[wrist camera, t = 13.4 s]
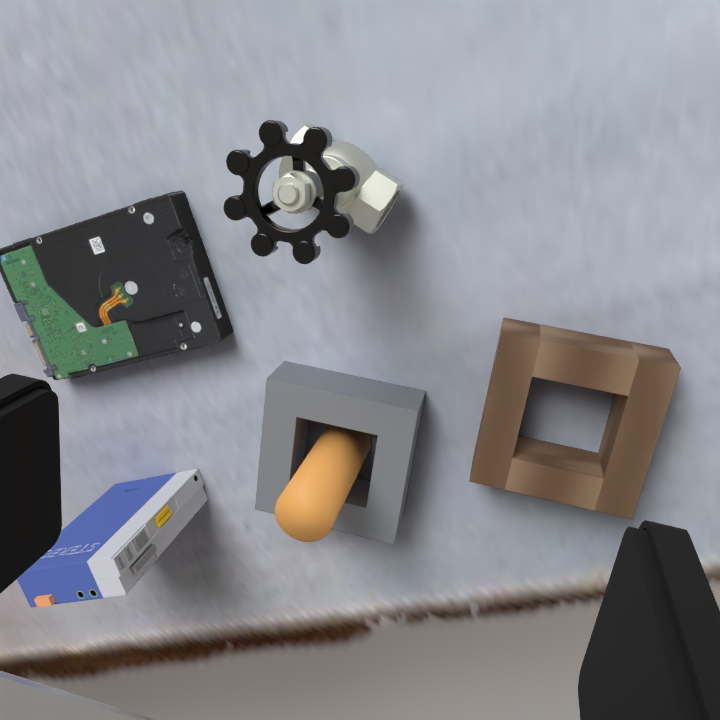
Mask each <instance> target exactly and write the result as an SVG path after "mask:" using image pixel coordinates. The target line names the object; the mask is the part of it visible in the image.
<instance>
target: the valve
mask: <svg viewBox="0 0 720 720" xmlns="http://www.w3.org/2000/svg"><path fill="white" fill-rule="evenodd" d="M287 131H288V128H287V126H286V125H285V124H284V123H283V122H281V121H275V120H268V121H266V122H264V123H263V124H262V125H261V127H260V129H259V137H260V139H261V141H262V142H263V144H264V149H263V151H262V152H261V153H260V154H258V155H257V156H256V157H252V156H251V155H250V151H249V150H245V149H242V150H234V151H232V152H230V153H229V155H228V156H227V160H226V163H227V167H228V169H229V171H230V172H231V173H233V174H235V175H239V176H241V177H242V179H243V181H244V186H243V193H242V194H241V195H240V196H239V195H236V196H232V197H229V198H228V199H227V200H226V201H225V203H224V212H225V214H226V216H227V217H228V218H230V219H231V220H241V219H244V218H246V217H249V218H251V219H252V220H253V222H254V223H255V224H256V226H257V229H258V231H257V234H256V235H254V236H253V238H252V240H251V248H252V250H253V252H254V253H255V254H257V255H258V256H262V257H263V256H267V255H270V254H272V253H274V252H275V251H276V250H277V249H278V247H277V246H276V244H277V242H278V241H283V242H288V243H290V244H291V245H292V246H293V256H294V258H295V260H296V261H298V262H299V263H301V264H308V263H310V262H312V261H314V260H315V259H317V258H318V256H319V255H320V246H318V247H317V246H316V244H315V242H314V238H315V236H316V235H317V234H318V233H320V232H321V231H322V230H326V231H328V233H329V234H330V235H331V236H332V237H334V238H343V237H344V236H346V235H348V234H349V233H351V232H352V230H353V228H354V225H356V226H358V227H359V228H361V229H362V230H364V231H365V232H367V233H369V234H373V233H375V232H376V231H377V230H378V229H379V227H380V226H381V225H382V223H383V222H384V220H385V219H386V217H387V216H388V214H389V212H390V211H391V209H392V207H393V206H394V204H395V202H396V200H397V199H398V197H399V195H400V193H401V191H402V188H403V181H401V180H399V179H398V178H396V177H395V176H393V175H391V174H390V173H388V172H387V171H385V170H384V169H378V170H377V168H376V166H375V164H374V162H373V160H372V159H371V158H370V156H369V155H368V154H367V153H366V152H365V151H363V150H362V149H361V148H359V147H357V146H356V145H353V144H351V143H347V142H341V141H335V139H334V138H333V137H332V135H331V133H330V131H329V130H328V129H326V128H324V127H315V126H313V125H304V126H303V127H302V128H301V129H300V130H299V131H298V132H297V133H296V135H295V136H294V137H293V139H292V140H291V142H290V143H289V142H288V141H287V139H286V132H287ZM280 157H283V158H282V160H281V163H280V168H279V177H280V178H279V179H278V180H277V181H276V182H274V183H273V201H271V202H269V203H267V204H265V205H262V206H261V203H260V200H259V195H258V186H259V181H260V178H261V175H262V173H263V172H264V170H265V168H266V167H267V166H268V165H269V164H270V163H271V162H272V161H274V160H275V159H277V158H280ZM312 208H314V209H316V210H319V211H320V213H319V215H318V216H317V218H316V219H315V220H314V221H313V222H312V223H311V224H310V225H308V226H307V227H305V228H301V229H288V228H284V227H281V226H279V225H277V224H276V223H274V222H273V221H272V220H271V219H270V218H269V217H268V216H270V215H272V214H273V213H275V212H277V211H279V210H281V209H283V210H284V211H286V212H288V213H290V214H291V213H294V214H297V213H302V212H305V211H307V210H310V209H312Z"/></svg>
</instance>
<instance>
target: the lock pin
mask: <svg viewBox="0 0 720 720" xmlns="http://www.w3.org/2000/svg"><path fill="white" fill-rule="evenodd" d="M370 446H371V440H370V436H369V434H368V433H365V432H361V431H356V430H352V429H348V428H343V427H339V426H334V425H330V424H328V425H327V427H326V428H325V430H324V431H323V433H322V434H321V436H320V437H319V439H318V440H317V442H316V443H315V445H314V446H313V448H312V449H311V451H310V452H309V454H308V455H307V457H306V458H305V459H304V461H303V462H302V464H301V465H300V467H299V468H298V470H297V471H296V473H295V474H294V476H293V477H292V479H291V480H290V482H289V483H288V485H287V486H286V488H285V489H284V491H283V492H282V494H281V495H280V497H279V498H278V500H277V502H276V505H275V516H276V520H277V522H278V524H279V526H280V527H281V528H282V530H283V531H284V532H285V533H287V534H288V535H289V536H291V537H292V538H294V539H297V540H300V541H304V542H313V541H318V540H320V539H322V538H324V537H325V536H326V535H327V534H328V533H329V532H330V530H331V528H332V526H333V524H334V522H335V520H336V518H337V516H338V514H339V512H340V510H341V508H342V506H343V504H344V502H345V500H346V497H347V495H348V493H349V491H350V489H351V487H352V485H353V483H354V481H355V479H356V477H357V475H358V473H359V471H360V469H361V467H362V465H363V463H364V461H365V459H366V457H367V455H368V452H369V450H370Z"/></svg>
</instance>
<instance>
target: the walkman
mask: <svg viewBox="0 0 720 720" xmlns="http://www.w3.org/2000/svg"><path fill="white" fill-rule="evenodd" d="M203 485H204V482H203V479H202V477H201V474H200V472H199V469H194V470H188V471H183V472H178V473H173V474H168V475H163V476H157V477H152V478H147V479H142V480H136V481H131V482H126V483H120V484H115V485H114V486H113V487H112V488H110V489H109V490H108V491H107V492H106V493H105V494H103V495H102V496H101V497H100V498H99V499H98V500H97V501H95V502H94V503H93V504H92V505H91V506H90V507H88V508H87V509H86V510H85V511H84V512H83V513H82V514H80V515H79V516H78V517H77V518H76V519H75V520H73V521H72V522H71V523H70V524H69V525H68V526H67V527H65V528H64V529H63V530H62V531H61V532H60V536H59V538H58V540H57V542H56V543H55V545H54V546H53V547H52V548H51V549H50V550H49V551H48V552H46V553H45V554H44V555H43V556H42V557H41V558H40V559H39V560H37V561H36V562H35V563H34V564H33V565H32V566H31V567H30V568H28V569H27V570H26V571H25V572H24V573H23V574H22V575H21V576H19V577H18V578H17V580H18V582H19V584H20V586H21V588H22V590H23V592H24V594H25V596H26V598H27V600H28V602H29V604H30V607H43V606H51V605H53V604H61V603H69V602H77V601H85V600H93V599H101V598H106V597H114V596H122V595H127V594H128V592H129V591H130V590H131V589H132V588H133V587H134V585H135V584H136V583H137V582H138V581H139V580H140V578H141V577H142V576H143V575H144V574H145V573H146V571H147V570H148V569H149V568H150V567H151V566H152V564H153V563H154V562H155V561H156V560H157V559H158V557H159V556H160V555H161V554H162V553H163V552H164V550H165V549H166V548H167V547H168V546H169V545H170V543H171V542H172V541H173V540H174V539H175V538H176V536H177V535H178V534H179V533H180V532H181V531H182V529H183V528H184V527H185V526H186V525H187V524H188V522H189V521H190V520H191V519H192V518H193V517H194V515H195V514H196V513H197V512H198V511H199V509H200V508H201V507H202V506H203V505H204V504H205V502H206V501H207V500H208V498H207V495H206V493H205V490H204V488H203Z"/></svg>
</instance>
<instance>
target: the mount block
mask: <svg viewBox="0 0 720 720" xmlns="http://www.w3.org/2000/svg"><path fill="white" fill-rule="evenodd" d="M680 370H681V367H680V366H679V364H678V362H677V361H676V359H675V358H674V356H673V355H672V353H671V352H670V350H669V349H666V348H661V347H656V346H650V345H645V344H640V343H635V342H629V341H624V340H619V339H613V338H608V337H603V336H598V335H592V334H587V333H582V332H577V331H571V330H566V329H561V328H556V327H550V326H545V325H540V324H534V323H529V322H524V321H519V320H513V319H508V318H503V323H502V327H501V332H500V337H499V341H498V346H497V350H496V355H495V360H494V364H493V369H492V373H491V378H490V383H489V387H488V392H487V396H486V401H485V406H484V410H483V415H482V419H481V424H480V429H479V433H478V438H477V443H476V447H475V452H474V456H473V462H472V469H471V475H470V482H474V483H478V484H483V485H487V486H491V487H495V488H500V489H504V490H508V491H513V492H517V493H521V494H526V495H530V496H534V497H538V498H543V499H547V500H551V501H556V502H560V503H564V504H569V505H573V506H577V507H581V508H586V509H590V510H594V511H599V512H603V513H607V514H611V515H616V516H620V517H624V518H629V519H632V518H633V515H634V512H635V509H636V506H637V503H638V500H639V497H640V493H641V490H642V487H643V484H644V481H645V478H646V475H647V472H648V469H649V466H650V463H651V459H652V456H653V453H654V450H655V447H656V444H657V441H658V438H659V435H660V432H661V428H662V425H663V422H664V419H665V416H666V413H667V410H668V407H669V404H670V401H671V397H672V394H673V391H674V388H675V385H676V382H677V379H678V376H679V373H680ZM532 377H537V378H542V379H547V380H552V381H556V382H561V383H566V384H571V385H576V386H581V387H586V388H591V389H596V390H601V391H606V392H611V393H615V397H614V400H613V404H612V407H611V411H610V414H609V418H608V421H607V424H606V428H605V431H604V435H603V438H602V442H601V445H600V449H599V452H598V453H595V452H590V451H586V450H581V449H577V448H572V447H568V446H563V445H558V444H554V443H549V442H545V441H540V440H536V439H531V438H526V437H522V436H518V433H519V429H520V425H521V421H522V417H523V412H524V408H525V404H526V400H527V396H528V392H529V387H530V383H531V379H532Z"/></svg>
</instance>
